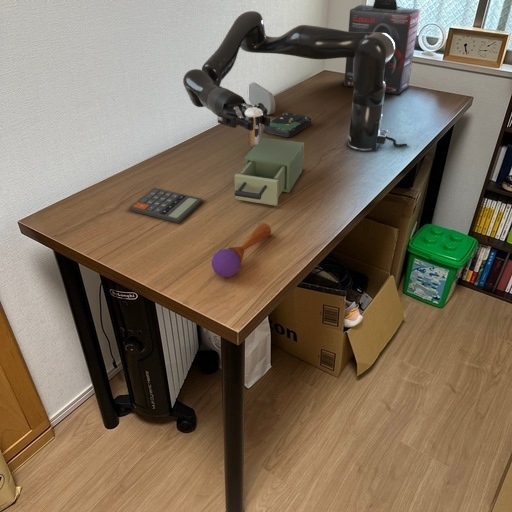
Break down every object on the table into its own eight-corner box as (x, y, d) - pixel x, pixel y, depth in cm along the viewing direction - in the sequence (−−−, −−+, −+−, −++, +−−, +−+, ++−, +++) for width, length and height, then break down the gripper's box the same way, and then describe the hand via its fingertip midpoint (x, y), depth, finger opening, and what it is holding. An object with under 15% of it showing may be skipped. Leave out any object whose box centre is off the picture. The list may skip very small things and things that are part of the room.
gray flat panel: (275, 116, 179) (276, 94, 174) (270, 118, 178) (270, 95, 173) (252, 101, 193) (252, 79, 188) (247, 102, 192) (247, 80, 187)
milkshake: (263, 147, 124) (264, 109, 118) (243, 146, 125) (242, 107, 119) (267, 140, 127) (267, 102, 122) (247, 139, 128) (246, 101, 122)
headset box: (342, 86, 207) (349, -2, 187) (353, 78, 215) (362, -7, 196) (398, 95, 196) (413, 3, 177) (408, 87, 204) (423, -2, 185)
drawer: (269, 218, 121) (269, 193, 117) (226, 210, 124) (225, 186, 120) (290, 183, 136) (291, 160, 131) (252, 177, 139) (251, 154, 135)
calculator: (154, 187, 134) (202, 198, 129) (155, 190, 135) (202, 201, 129) (128, 207, 126) (178, 219, 120) (129, 210, 126) (178, 222, 121)
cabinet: (288, 192, 133) (289, 163, 128) (245, 185, 136) (244, 157, 131) (302, 170, 144) (303, 142, 139) (261, 164, 147) (261, 137, 142)
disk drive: (286, 119, 177) (263, 131, 167) (286, 111, 176) (263, 123, 166) (311, 124, 173) (289, 138, 163) (311, 117, 171) (289, 130, 161)
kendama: (278, 224, 113) (232, 265, 98) (273, 244, 116) (227, 287, 101) (256, 213, 115) (208, 252, 100) (251, 234, 118) (204, 274, 103)
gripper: (201, 95, 127) (234, 115, 115) (248, 85, 133) (284, 104, 121) (203, 123, 131) (236, 145, 120) (248, 112, 138) (283, 132, 126)
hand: (260, 124), depth 121 cm, fingers closed on milkshake, 4 cm apart
